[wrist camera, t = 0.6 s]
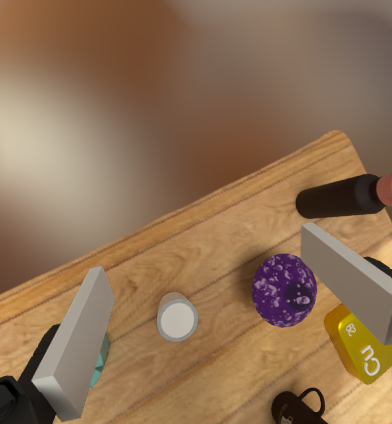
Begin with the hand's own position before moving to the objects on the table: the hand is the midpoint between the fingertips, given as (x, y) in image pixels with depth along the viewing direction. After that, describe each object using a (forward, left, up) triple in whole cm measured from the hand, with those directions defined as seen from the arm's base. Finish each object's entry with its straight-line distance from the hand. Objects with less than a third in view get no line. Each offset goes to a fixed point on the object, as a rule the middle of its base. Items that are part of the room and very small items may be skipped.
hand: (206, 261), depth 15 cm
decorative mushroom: (-13, -17, -31) cm, 37 cm away
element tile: (-30, -38, -31) cm, 58 cm away
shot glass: (-13, +2, -31) cm, 33 cm away
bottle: (0, -33, -31) cm, 45 cm away
